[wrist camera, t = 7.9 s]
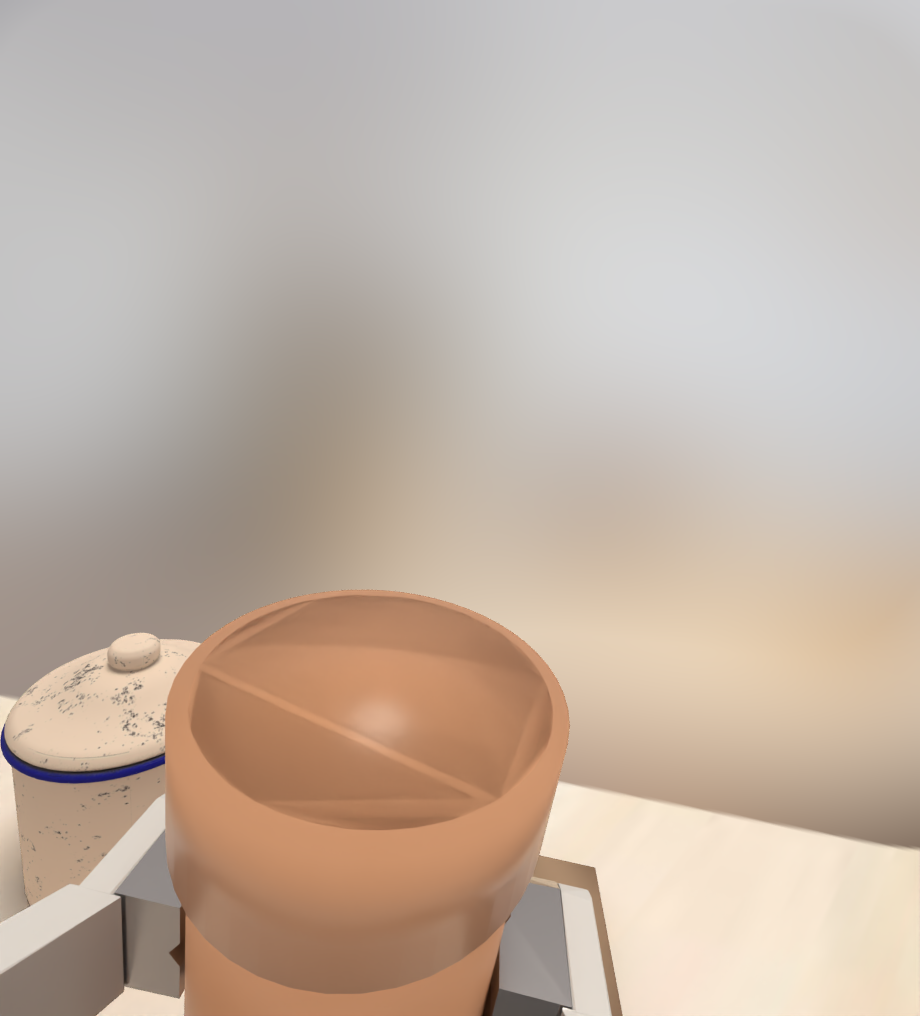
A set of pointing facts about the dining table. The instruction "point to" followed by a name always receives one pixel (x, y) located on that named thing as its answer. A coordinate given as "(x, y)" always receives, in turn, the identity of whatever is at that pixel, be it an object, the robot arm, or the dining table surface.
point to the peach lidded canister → (356, 804)
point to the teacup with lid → (89, 755)
